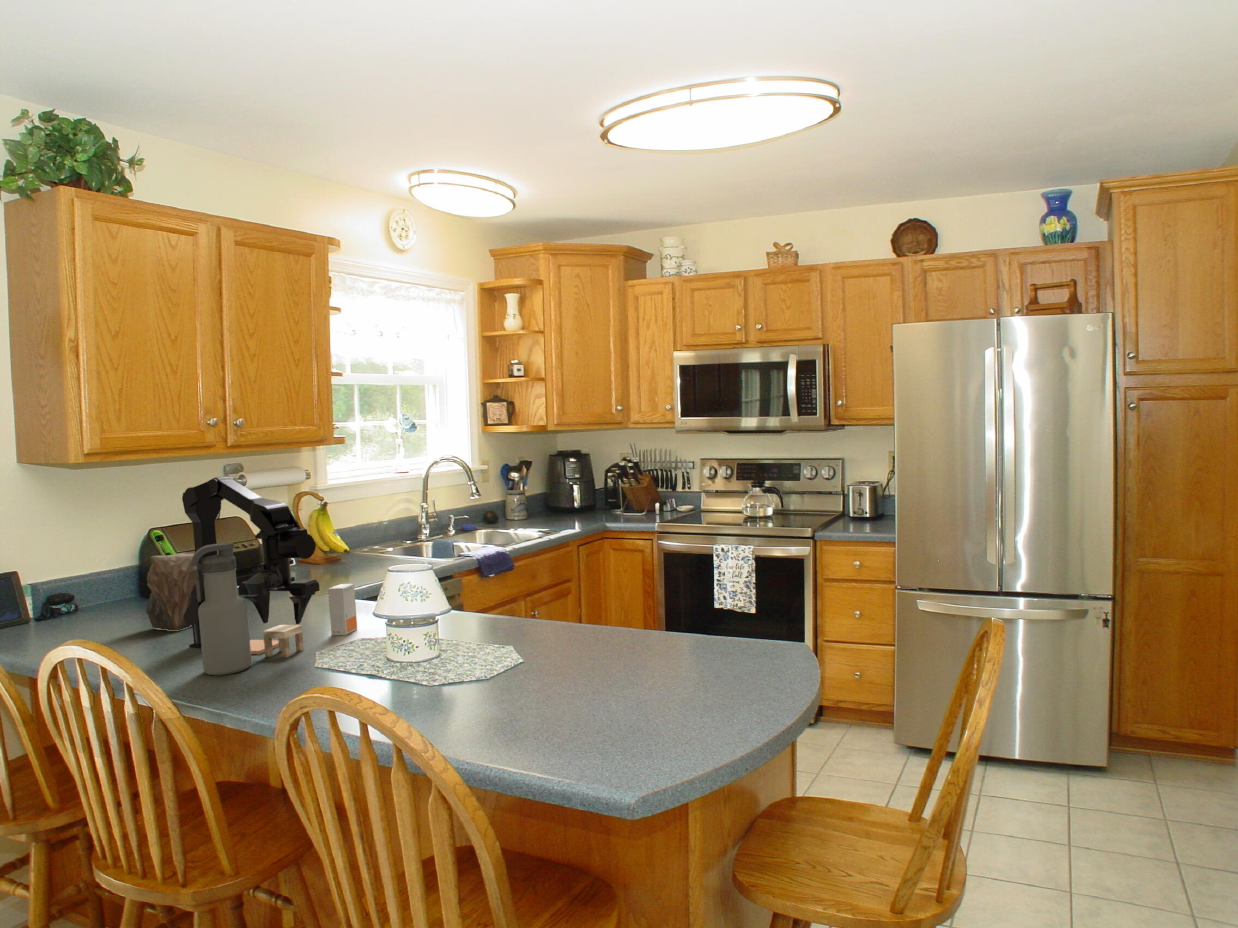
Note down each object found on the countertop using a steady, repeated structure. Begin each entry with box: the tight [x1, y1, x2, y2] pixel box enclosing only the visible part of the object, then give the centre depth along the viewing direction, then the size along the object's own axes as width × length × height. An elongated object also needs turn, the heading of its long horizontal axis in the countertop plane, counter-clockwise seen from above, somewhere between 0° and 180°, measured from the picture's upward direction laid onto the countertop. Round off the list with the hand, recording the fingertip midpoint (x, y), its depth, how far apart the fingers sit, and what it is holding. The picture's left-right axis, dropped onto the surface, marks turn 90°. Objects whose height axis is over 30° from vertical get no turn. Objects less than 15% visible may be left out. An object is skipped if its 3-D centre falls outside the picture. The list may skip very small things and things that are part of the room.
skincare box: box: [327, 583, 358, 636], centre depth 220 cm, size 6×4×12 cm
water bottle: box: [191, 541, 252, 676], centre depth 192 cm, size 10×10×28 cm
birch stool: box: [262, 624, 305, 658], centre depth 203 cm, size 6×6×6 cm
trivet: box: [250, 639, 279, 655], centre depth 210 cm, size 10×9×1 cm
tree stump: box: [145, 551, 196, 630], centre depth 240 cm, size 13×13×20 cm
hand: (281, 623), depth 203 cm, fingers open, 9 cm apart
